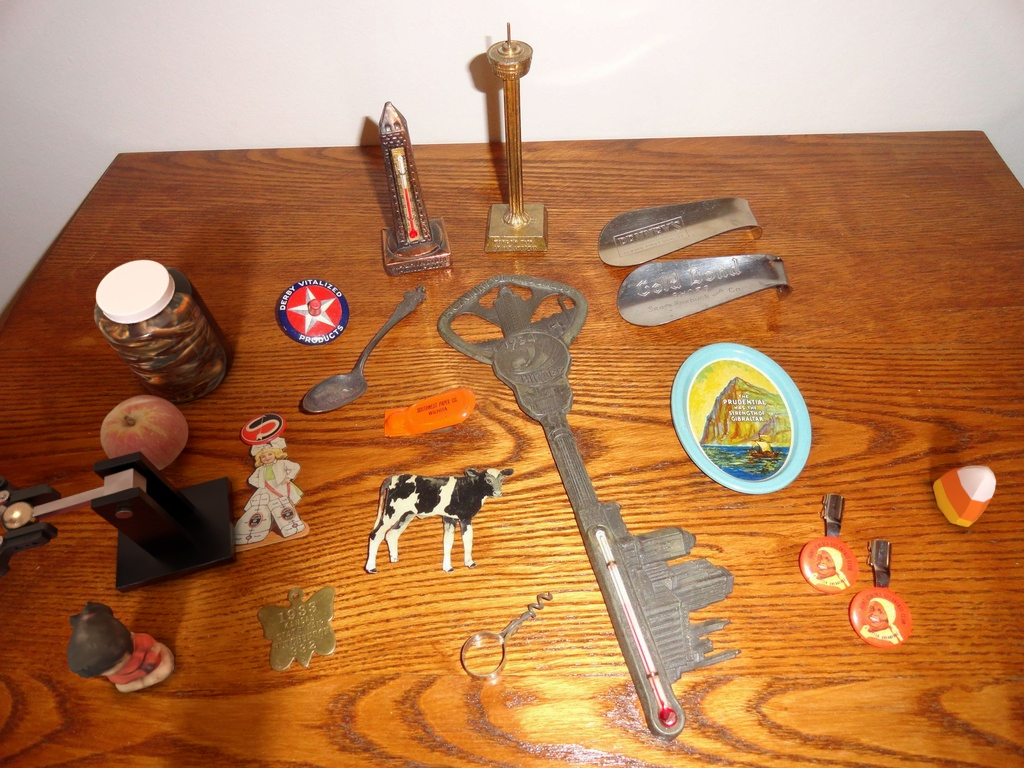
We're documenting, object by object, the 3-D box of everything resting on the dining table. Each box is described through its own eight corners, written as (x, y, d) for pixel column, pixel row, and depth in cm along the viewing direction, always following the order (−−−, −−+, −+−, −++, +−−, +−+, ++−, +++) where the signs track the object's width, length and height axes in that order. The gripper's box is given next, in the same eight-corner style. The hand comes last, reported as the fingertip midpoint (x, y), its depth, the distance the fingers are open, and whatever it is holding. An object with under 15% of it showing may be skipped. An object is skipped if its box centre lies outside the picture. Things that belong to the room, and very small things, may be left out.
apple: (213, 436, 84) (185, 400, 77) (162, 497, 80) (127, 464, 73) (160, 410, 87) (128, 373, 80) (107, 467, 82) (69, 433, 76)
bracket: (122, 593, 73) (44, 544, 62) (125, 510, 79) (54, 450, 68) (236, 561, 75) (180, 508, 64) (231, 481, 80) (180, 419, 69)
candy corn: (924, 482, 77) (959, 446, 70) (950, 479, 77) (988, 443, 70) (948, 532, 73) (988, 500, 67) (976, 529, 73) (1018, 497, 67)
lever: (14, 544, 67) (-10, 532, 64) (18, 514, 69) (-5, 501, 66) (148, 504, 68) (129, 490, 65) (149, 476, 69) (130, 461, 67)
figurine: (101, 673, 69) (27, 641, 59) (146, 625, 71) (82, 587, 62) (141, 712, 67) (71, 686, 57) (187, 661, 69) (127, 628, 59)
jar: (253, 349, 91) (207, 269, 79) (190, 416, 86) (130, 341, 74) (187, 318, 95) (134, 237, 83) (123, 380, 89) (55, 303, 77)
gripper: (-192, 624, 58) (22, 565, 60) (-150, 479, 66) (38, 430, 68) (-120, 646, 64) (72, 592, 66) (-89, 511, 72) (81, 466, 74)
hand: (54, 510), depth 67 cm, fingers closed on lever, 3 cm apart
